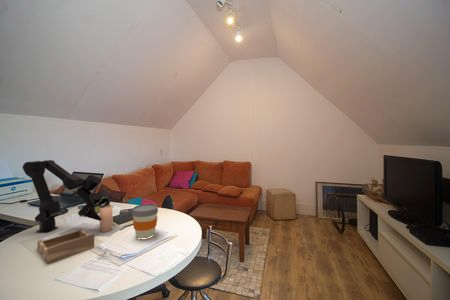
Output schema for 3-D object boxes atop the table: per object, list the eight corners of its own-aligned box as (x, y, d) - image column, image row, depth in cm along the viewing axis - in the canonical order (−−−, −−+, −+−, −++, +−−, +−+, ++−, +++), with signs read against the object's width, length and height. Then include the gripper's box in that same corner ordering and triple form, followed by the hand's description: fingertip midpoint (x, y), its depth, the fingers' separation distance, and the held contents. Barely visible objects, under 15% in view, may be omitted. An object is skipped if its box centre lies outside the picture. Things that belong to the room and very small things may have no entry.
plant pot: (97, 214, 133) (96, 202, 132) (85, 213, 134) (85, 201, 134) (108, 210, 142) (107, 198, 141) (96, 209, 144) (96, 197, 143)
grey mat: (85, 236, 101) (85, 235, 101) (104, 226, 114) (104, 224, 114) (109, 238, 100) (109, 236, 100) (125, 227, 113) (125, 225, 113)
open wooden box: (37, 251, 88) (37, 235, 87) (80, 237, 100) (79, 224, 100) (48, 266, 77) (47, 249, 77) (94, 249, 90) (94, 234, 89)
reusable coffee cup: (163, 233, 106) (163, 205, 106) (144, 243, 95) (144, 213, 94) (146, 228, 112) (145, 202, 111) (126, 238, 100) (126, 209, 100)
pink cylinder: (99, 233, 103) (98, 209, 102) (100, 229, 108) (100, 205, 108) (112, 231, 106) (112, 207, 105) (112, 227, 111) (112, 204, 111)
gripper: (83, 190, 97) (105, 212, 97) (108, 182, 116) (126, 201, 115) (68, 205, 98) (89, 228, 98) (95, 195, 117) (113, 214, 116)
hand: (106, 216), depth 107 cm, fingers open, 9 cm apart
